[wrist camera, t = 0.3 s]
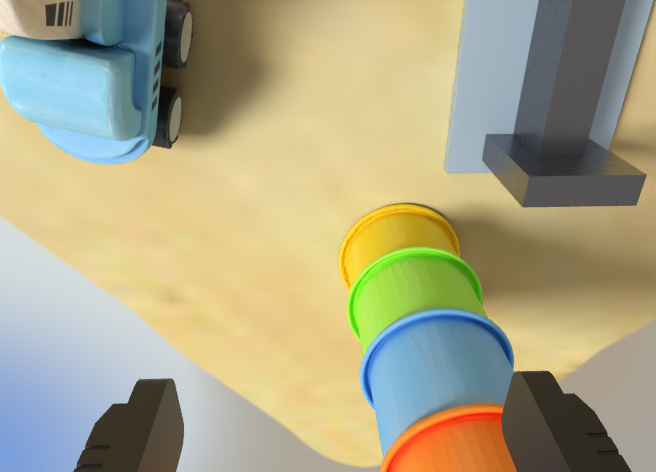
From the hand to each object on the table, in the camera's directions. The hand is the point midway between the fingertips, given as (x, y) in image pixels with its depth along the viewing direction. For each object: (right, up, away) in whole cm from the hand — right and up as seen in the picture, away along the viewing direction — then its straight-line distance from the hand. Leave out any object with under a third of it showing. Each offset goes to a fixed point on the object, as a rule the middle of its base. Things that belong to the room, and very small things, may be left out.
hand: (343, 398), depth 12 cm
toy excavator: (-13, +18, +20) cm, 30 cm away
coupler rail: (+15, +19, +21) cm, 32 cm away
